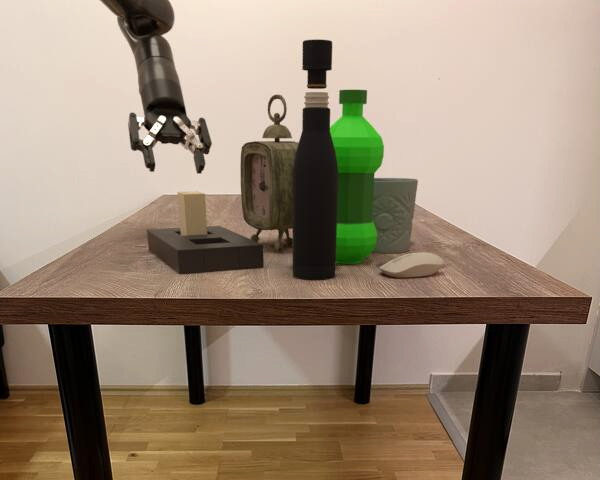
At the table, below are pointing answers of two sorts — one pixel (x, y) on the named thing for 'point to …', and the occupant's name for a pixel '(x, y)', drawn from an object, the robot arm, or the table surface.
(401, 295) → the table surface
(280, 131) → the tabletop clock
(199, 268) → the base
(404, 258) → the computer mouse
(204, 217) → the tan wooden block
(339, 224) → the plastic bottle
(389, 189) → the drinking glass
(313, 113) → the black insulated flask
